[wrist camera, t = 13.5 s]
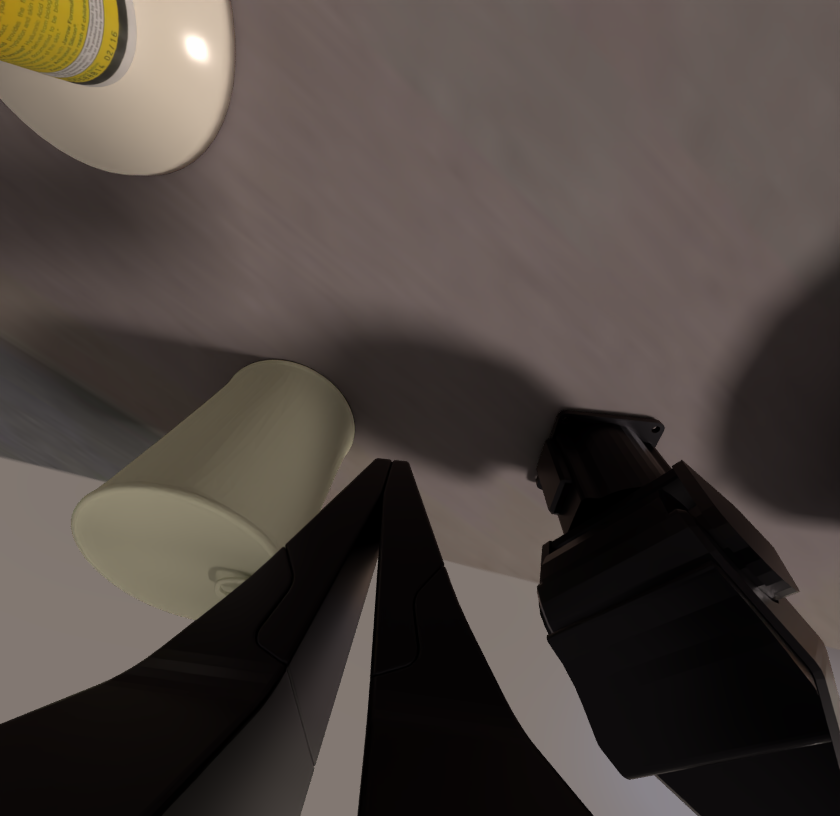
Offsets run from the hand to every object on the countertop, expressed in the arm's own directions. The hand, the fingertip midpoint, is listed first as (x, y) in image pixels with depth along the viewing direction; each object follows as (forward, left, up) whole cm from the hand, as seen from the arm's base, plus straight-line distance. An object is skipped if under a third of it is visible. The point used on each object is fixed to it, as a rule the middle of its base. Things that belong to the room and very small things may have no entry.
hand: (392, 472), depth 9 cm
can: (+9, +8, -13) cm, 18 cm away
